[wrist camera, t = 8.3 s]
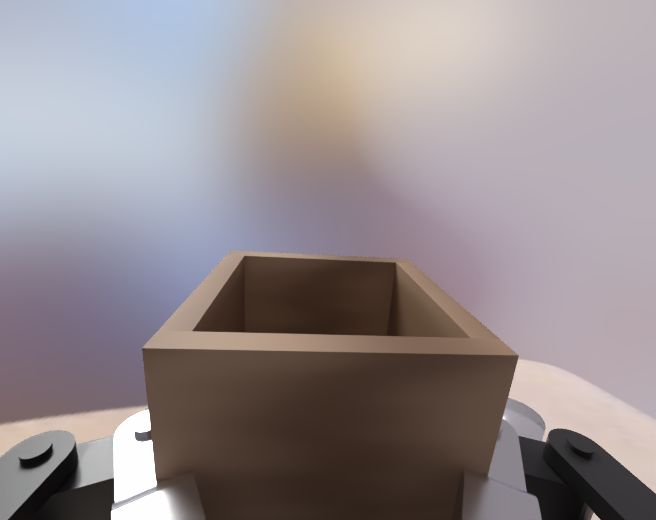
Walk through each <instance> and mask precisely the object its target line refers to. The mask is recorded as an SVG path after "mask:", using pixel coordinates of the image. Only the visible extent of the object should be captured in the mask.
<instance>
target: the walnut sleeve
mask: <svg viewBox="0 0 656 520" xmlns="http://www.w3.org/2000/svg"><path fill="white" fill-rule="evenodd" d="M142 351H143V361H144V371H145V380H146V389H147V400H148V410H149V420H150V430H151V440H152V450H153V460H154V470H155V478H174V477H177V476H179V475H181V474H184V473H186V472H188V471H191V470H192V472H193V474H194V477H195V481H196V485H197V489H198V492H199V496H200V500H201V504H202V508H203V512H204V515H205V519H206V520H451V518H452V514H453V509H454V505H455V499H456V494H457V489H458V485H459V480H460V476H461V472H462V469H463V467H465V468H467V469H470V470H472V471H475V472H477V473H480V474H488V473H489V469H490V465H491V461H492V457H493V453H494V450H495V446H496V442H497V438H498V434H499V430H500V426H501V422H502V418H503V415H504V411H505V407H506V403H507V399H508V395H509V391H510V387H511V383H512V380H513V376H514V372H515V368H516V364H517V360H518V354H516V353H515V352H514V351H513V350H512V349H510V348H509V347H508V346H507V345H506V344H505V343H504V342H503V341H501V340H500V339H499V338H498V337H497V336H496V335H494V334H493V333H492V332H491V331H490V330H489V329H487V328H486V327H485V326H484V325H482V323H481V322H479V321H478V320H477V319H476V318H475V317H474V316H473V315H471V314H470V313H469V312H468V311H467V310H466V309H464V308H463V307H462V306H461V305H460V304H459V303H458V302H456V301H455V300H454V299H453V298H451V296H449V295H448V294H447V293H446V292H445V291H443V290H442V289H441V288H440V287H439V286H438V285H437V284H436V283H434V282H433V281H432V280H431V279H430V278H429V277H427V276H426V275H425V274H424V273H423V272H422V271H421V270H419V269H418V268H417V267H416V266H415V265H413V264H412V263H411V262H410V261H409V260H408V259H398V258H378V257H377V258H376V257H356V256H335V255H311V254H290V253H269V252H247V251H230V252H229V253H228V254H227V255H226V256H225V258H224V259H223V260H222V261H221V262H220V263H219V264H218V265H217V266H216V268H214V270H213V271H212V272H211V273H210V274H209V275H208V276H207V277H206V278H205V280H204V281H203V282H202V283H201V284H200V285H199V286H198V287H197V288H196V289H195V291H194V292H193V293H192V294H191V295H190V296H189V297H188V298H187V299H186V300H185V302H184V303H183V304H182V305H181V306H180V307H179V308H178V309H177V310H176V312H175V313H174V314H173V315H172V316H171V317H170V318H169V319H168V320H167V321H166V322H165V324H164V325H163V326H162V327H161V328H160V329H159V330H158V331H157V333H156V334H155V335H154V336H153V337H152V338H151V339H150V340H149V341H148V342H147V343H146V345H145V346H144V347H143V348H142Z"/></svg>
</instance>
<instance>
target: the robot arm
mask: <svg viewBox="0 0 656 520" xmlns="http://www.w3.org/2000/svg"><path fill="white" fill-rule="evenodd" d="M593 512H594V513H595V514H596V515H597V516H598V517H599V518H600V519H601V520H656V494H655V493H654V492H653V491H652V490H651V489H649V488H648V487H647V486H646V485H645V484H644V483H642V482H641V481H640V480H639V479H638V478H637V477H635V476H634V475H633V474H632V473H631V472H630V471H628V470H627V469H626V468H625V467H624V466H623V465H621V464H620V463H619V462H618V461H617V460H616V459H614V458H613V457H612V456H611V455H610V454H609V453H608V452H606V451H605V450H604V449H603V448H602V447H600V446H599V445H598V444H597V443H595V442H594V441H592V440H591V439H589V438H587V437H586V436H583V435H581V434H579V433H577V432H574V431H571V430H567V429H553V430H551V431H550V432H549V434H548V437H547V440H546V442H542V441H538V440H534V439H530V438H526V437H522V436H518V434H517V432H516V430H515V429H514V428H513V427H512V426H511V425H510V424H509V423H508V422H507V421H506V420H504V419H503V418H502V422H501V426H500V430H499V434H498V438H497V442H496V446H495V450H494V453H493V457H492V461H491V465H490V469H489V473H488V474H480V473H477V472H475V471H472V470H470V469H467V468H465V467H463V469H462V472H461V476H460V480H459V485H458V489H457V494H456V499H455V505H454V509H453V514H452V518H451V520H591V518H592V515H593ZM0 520H206V519H205V515H204V512H203V508H202V504H201V500H200V496H199V492H198V489H197V485H196V481H195V477H194V474H193V472H192V470H191V471H188V472H186V473H184V474H181V475H179V476H177V477H174V478H155V470H154V460H153V450H152V440H151V430H150V420H149V410H148V406H147V408H146V409H145V411H144V412H141V413H138V414H136V415H134V416H132V417H130V418H129V419H128V420H126V421H125V422H124V423H123V424H122V425H121V426H120V427H119V428H118V430H117V431H116V433H115V435H112V436H109V437H106V438H102V439H98V440H94V441H90V442H85V443H81V444H77V445H76V442H75V437H74V436H73V434H71V433H70V432H67V431H62V430H56V431H49V432H44V433H41V434H38V435H35V436H33V437H30V438H28V439H26V440H24V441H22V442H20V443H19V444H17V445H15V446H14V447H12V448H11V449H10V450H9V451H7V452H6V453H5V454H4V455H3V456H1V457H0Z"/></svg>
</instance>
